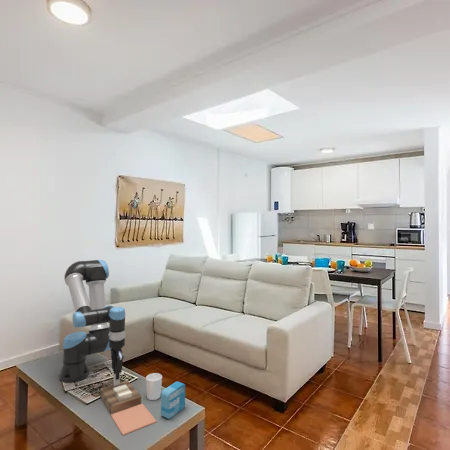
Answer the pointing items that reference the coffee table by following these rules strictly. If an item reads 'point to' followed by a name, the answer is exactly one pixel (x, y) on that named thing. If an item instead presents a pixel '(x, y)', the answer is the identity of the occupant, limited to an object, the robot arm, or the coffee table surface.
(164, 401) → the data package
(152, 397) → the white cup
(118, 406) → the block
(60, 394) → the coffee table surface
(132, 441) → the coffee table surface
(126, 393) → the birch tile
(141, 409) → the terracotta mat
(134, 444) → the coffee table surface
